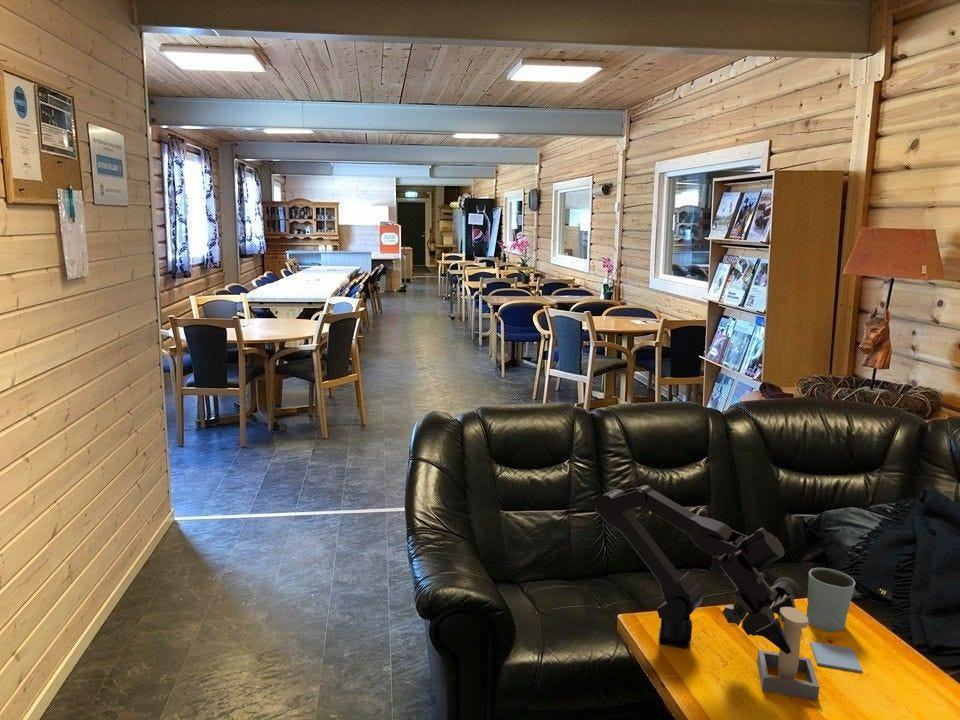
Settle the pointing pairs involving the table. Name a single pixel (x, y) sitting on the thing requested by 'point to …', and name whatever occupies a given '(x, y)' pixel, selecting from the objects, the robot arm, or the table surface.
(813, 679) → the grey square frame
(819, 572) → the grey cup
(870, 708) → the table surface
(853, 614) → the table surface
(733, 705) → the table surface
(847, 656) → the mat
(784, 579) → the light bulb
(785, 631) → the handle
